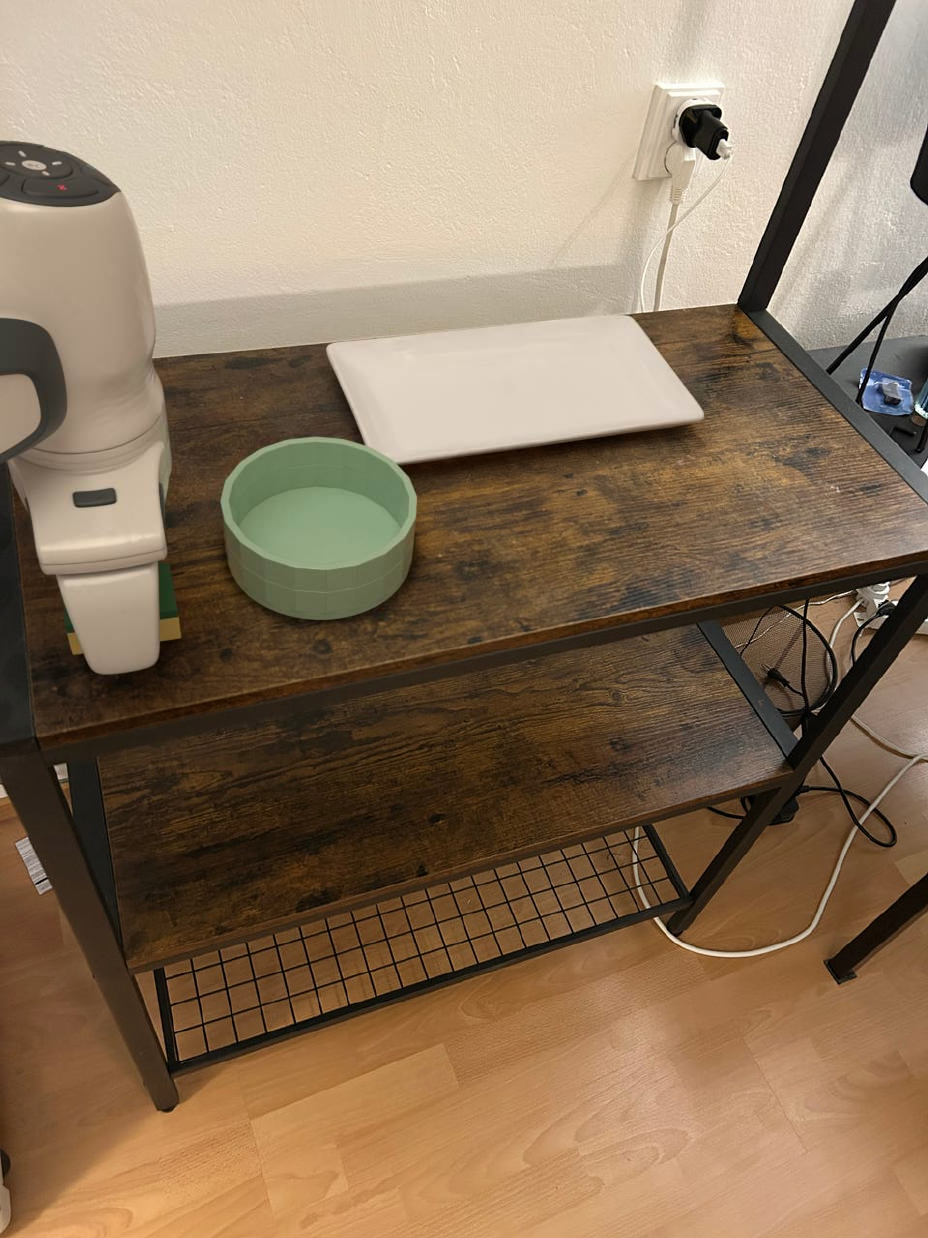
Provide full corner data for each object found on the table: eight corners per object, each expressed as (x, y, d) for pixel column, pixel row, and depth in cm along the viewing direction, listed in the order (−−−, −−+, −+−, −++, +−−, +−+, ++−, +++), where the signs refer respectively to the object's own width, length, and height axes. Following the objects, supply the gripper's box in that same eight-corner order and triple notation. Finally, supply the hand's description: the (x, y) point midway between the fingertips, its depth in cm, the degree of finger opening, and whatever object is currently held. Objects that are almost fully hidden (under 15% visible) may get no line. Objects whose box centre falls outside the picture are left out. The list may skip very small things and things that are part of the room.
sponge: (72, 655, 64) (64, 626, 62) (68, 605, 67) (60, 575, 65) (181, 638, 66) (177, 609, 64) (172, 591, 69) (168, 561, 67)
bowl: (243, 634, 69) (238, 582, 65) (214, 501, 78) (208, 447, 74) (433, 603, 73) (440, 552, 69) (385, 480, 82) (389, 427, 78)
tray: (700, 444, 90) (712, 414, 87) (372, 494, 80) (373, 461, 78) (622, 341, 100) (631, 310, 97) (322, 374, 90) (322, 341, 88)
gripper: (22, 344, 60) (61, 508, 71) (38, 578, 48) (83, 736, 58) (128, 337, 62) (151, 498, 72) (169, 561, 50) (190, 717, 60)
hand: (121, 606), depth 65 cm, fingers closed on sponge, 4 cm apart
